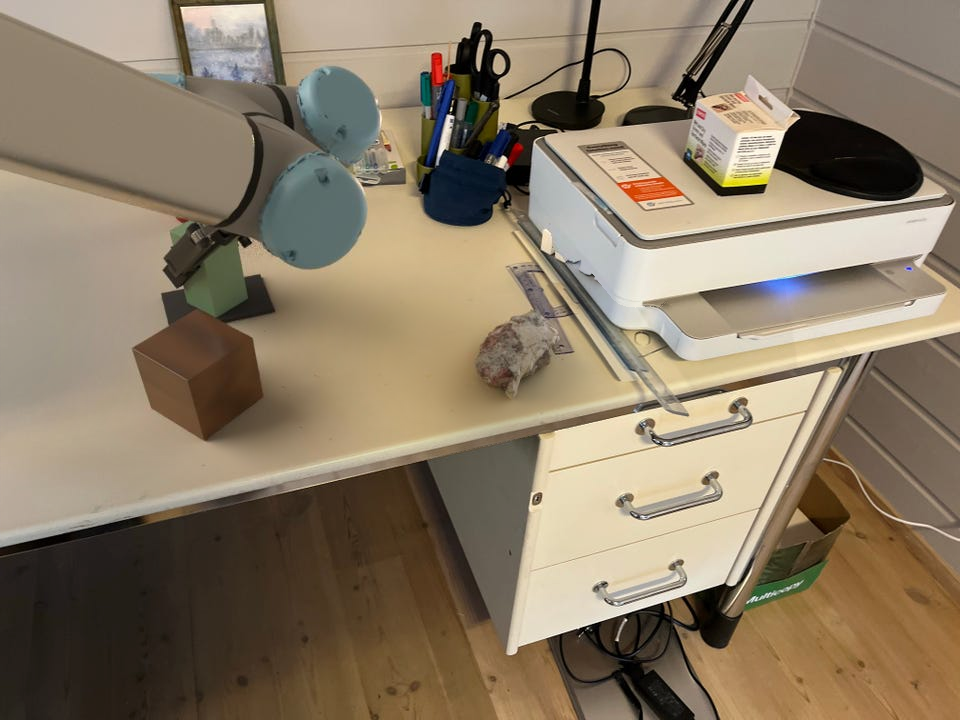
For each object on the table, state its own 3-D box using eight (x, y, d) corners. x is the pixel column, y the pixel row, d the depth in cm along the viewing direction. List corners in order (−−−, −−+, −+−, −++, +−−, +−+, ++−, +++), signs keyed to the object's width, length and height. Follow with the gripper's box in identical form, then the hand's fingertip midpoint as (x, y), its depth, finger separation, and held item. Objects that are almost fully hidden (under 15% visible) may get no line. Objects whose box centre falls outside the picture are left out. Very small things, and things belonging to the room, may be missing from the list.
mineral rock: (523, 318, 92) (526, 288, 89) (578, 345, 88) (583, 315, 86) (445, 379, 83) (446, 348, 80) (503, 412, 79) (506, 381, 76)
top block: (216, 318, 88) (199, 244, 82) (187, 303, 90) (169, 230, 84) (248, 298, 91) (234, 226, 85) (219, 284, 93) (204, 212, 87)
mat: (170, 334, 86) (169, 330, 86) (161, 296, 92) (160, 293, 91) (275, 311, 91) (274, 308, 90) (260, 276, 96) (260, 273, 96)
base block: (204, 441, 74) (188, 381, 69) (150, 407, 77) (131, 348, 72) (264, 396, 79) (252, 337, 74) (211, 367, 82) (197, 308, 77)
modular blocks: (540, 249, 104) (543, 224, 102) (573, 233, 108) (576, 209, 105) (656, 315, 94) (662, 289, 91) (687, 295, 98) (694, 269, 95)
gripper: (225, 254, 68) (148, 330, 85) (355, 181, 80) (265, 260, 97) (173, 184, 67) (105, 275, 84) (313, 120, 78) (229, 211, 95)
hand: (191, 267), depth 90 cm, fingers closed on top block, 5 cm apart
